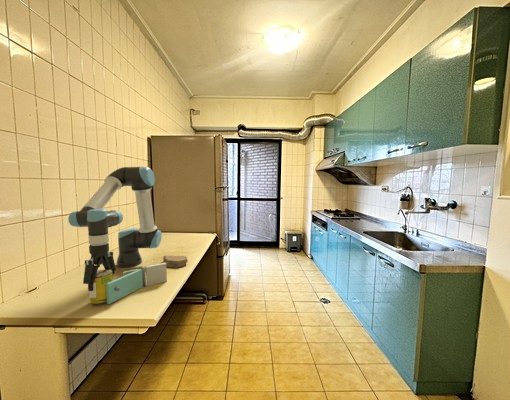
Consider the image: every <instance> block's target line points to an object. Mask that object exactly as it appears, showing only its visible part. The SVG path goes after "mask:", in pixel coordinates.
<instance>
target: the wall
mask: <svg viewBox="0 0 510 400" xmlns="http://www.w3.org/2000/svg"><path fill="white" fill-rule="evenodd" d="M140 269H141V270H142V279H143V287H142V288H145V287H149V286H153V285H157V284H162V283H165V282H168V278H167V277H168V276H167V274H168V273H167V266H166V263H164V262H161V263H157V264H156V263H155V264H152V265H150V264H149V265H146V266H141V267H140ZM137 270H139V268H136V269H131V270H126V271H123V272H122V277H123V276H125V275H127V274H130V273H132V272H134V271H137Z"/></svg>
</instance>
